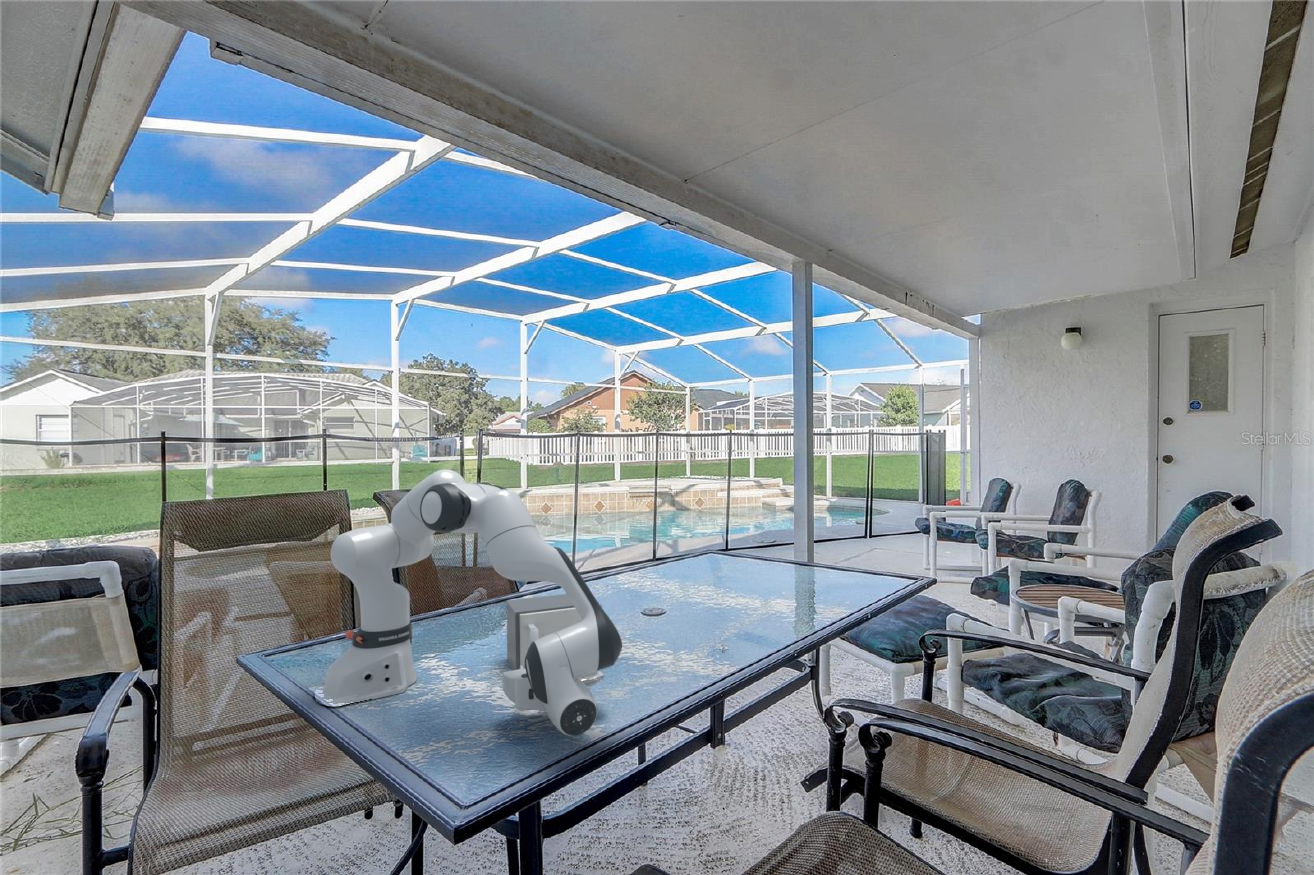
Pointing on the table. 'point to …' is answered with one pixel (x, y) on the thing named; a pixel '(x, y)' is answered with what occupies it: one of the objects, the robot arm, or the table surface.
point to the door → (544, 626)
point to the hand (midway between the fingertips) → (544, 665)
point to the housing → (522, 608)
